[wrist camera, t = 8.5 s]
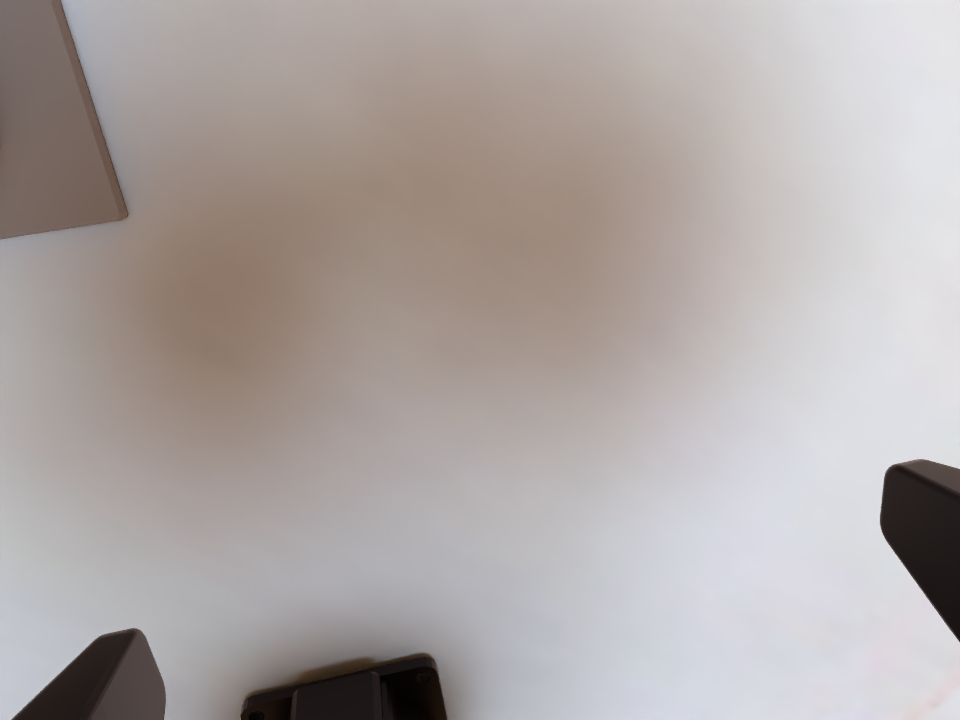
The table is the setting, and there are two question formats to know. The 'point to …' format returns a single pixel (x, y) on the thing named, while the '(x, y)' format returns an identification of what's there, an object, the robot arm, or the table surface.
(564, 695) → the table surface
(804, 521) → the table surface
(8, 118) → the mat
